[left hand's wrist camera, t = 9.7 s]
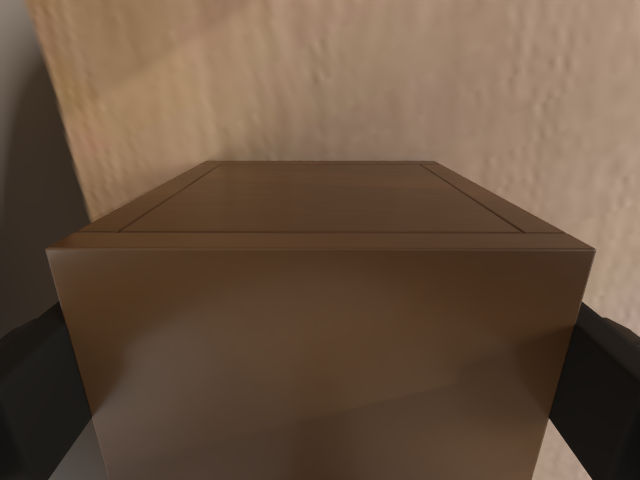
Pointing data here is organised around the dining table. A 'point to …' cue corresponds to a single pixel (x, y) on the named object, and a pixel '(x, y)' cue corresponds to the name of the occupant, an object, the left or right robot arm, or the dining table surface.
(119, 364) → the cabinet
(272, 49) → the dining table surface
